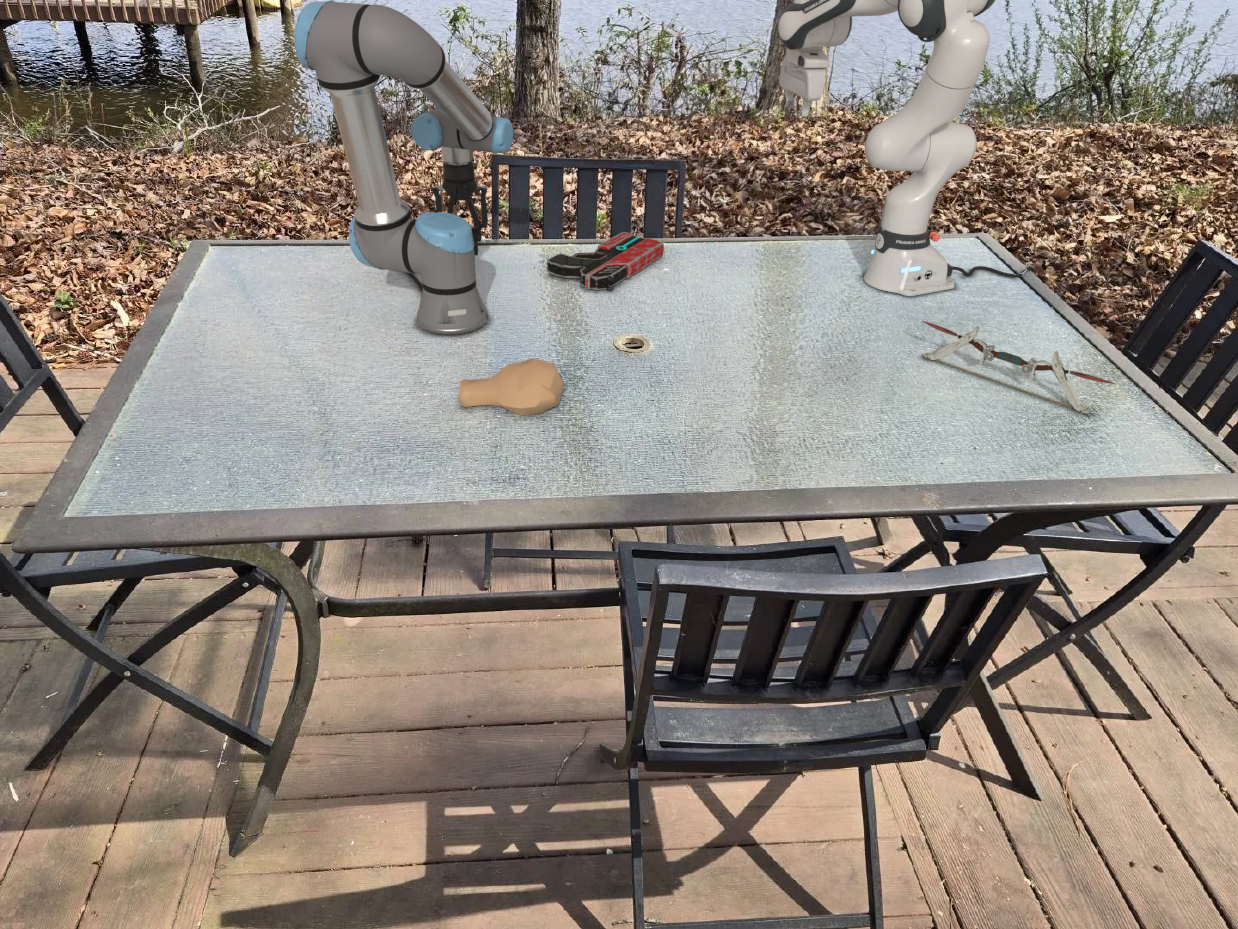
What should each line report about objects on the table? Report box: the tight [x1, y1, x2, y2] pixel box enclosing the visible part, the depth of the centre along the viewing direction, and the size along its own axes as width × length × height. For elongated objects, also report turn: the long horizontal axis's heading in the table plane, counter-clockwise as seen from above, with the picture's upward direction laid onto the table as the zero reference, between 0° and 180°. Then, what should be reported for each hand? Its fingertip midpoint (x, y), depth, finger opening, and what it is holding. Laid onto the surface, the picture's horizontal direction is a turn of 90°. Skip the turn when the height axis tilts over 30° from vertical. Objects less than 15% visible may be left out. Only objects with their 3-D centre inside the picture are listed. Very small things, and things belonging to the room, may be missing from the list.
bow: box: [921, 320, 1114, 414], centre depth 176 cm, size 39×2×10 cm, turn 47°
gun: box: [546, 231, 665, 292], centre depth 225 cm, size 4×31×19 cm
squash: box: [457, 358, 565, 416], centre depth 164 cm, size 11×20×9 cm, turn 90°
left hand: (464, 253), depth 226 cm, fingers closed on can, 5 cm apart
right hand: (796, 111), depth 233 cm, fingers open, 8 cm apart
